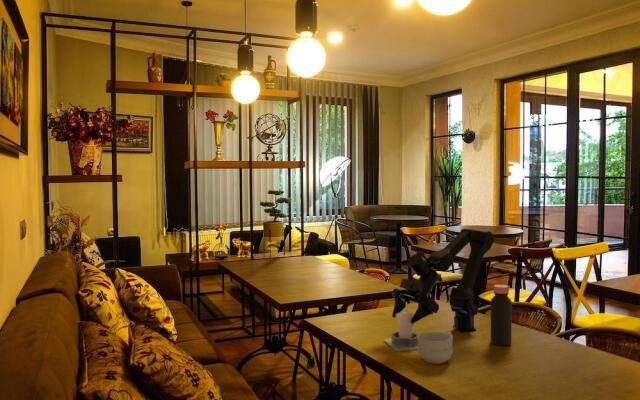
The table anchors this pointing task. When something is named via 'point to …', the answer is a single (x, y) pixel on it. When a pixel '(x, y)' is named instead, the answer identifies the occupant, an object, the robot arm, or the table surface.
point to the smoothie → (405, 323)
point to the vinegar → (501, 316)
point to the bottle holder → (402, 342)
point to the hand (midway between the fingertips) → (402, 319)
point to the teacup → (435, 346)
